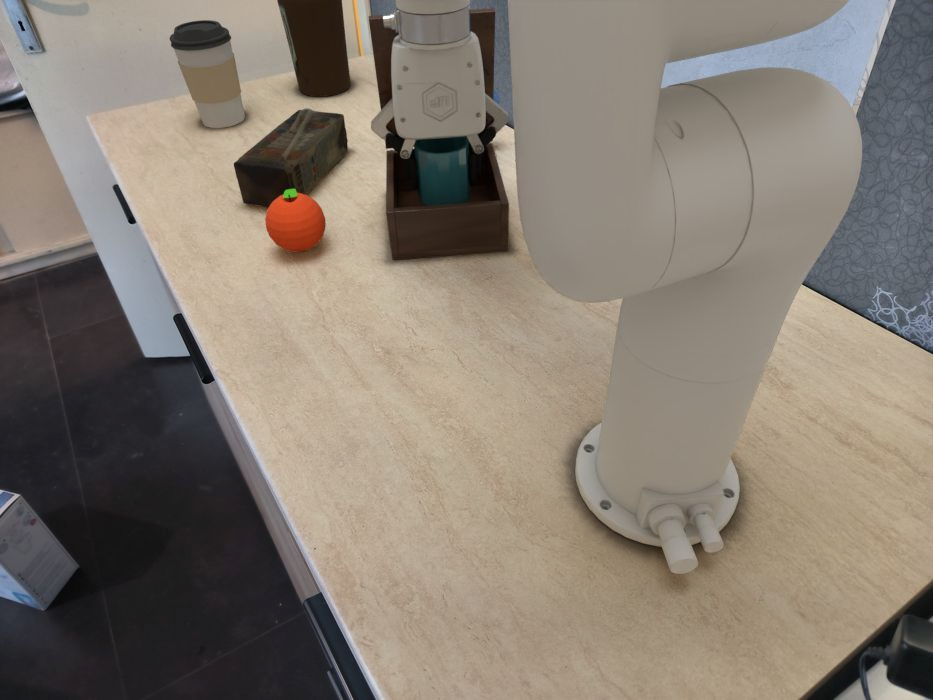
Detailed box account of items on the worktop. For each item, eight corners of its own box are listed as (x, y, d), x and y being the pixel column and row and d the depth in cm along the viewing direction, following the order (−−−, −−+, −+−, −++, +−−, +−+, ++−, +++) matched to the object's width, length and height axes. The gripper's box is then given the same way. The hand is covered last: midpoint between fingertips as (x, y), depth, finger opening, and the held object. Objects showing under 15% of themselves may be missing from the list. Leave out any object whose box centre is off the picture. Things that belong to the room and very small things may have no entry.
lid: (495, 11, 71) (489, -13, 74) (368, 19, 70) (368, -6, 74) (492, 141, 84) (487, 116, 88) (386, 149, 84) (385, 123, 87)
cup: (472, 207, 78) (471, 152, 74) (419, 211, 78) (414, 156, 73) (467, 181, 83) (466, 128, 78) (417, 185, 83) (413, 132, 78)
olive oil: (355, 75, 123) (333, -82, 106) (353, 96, 115) (328, -69, 99) (299, 78, 123) (267, -78, 106) (292, 100, 115) (257, -66, 98)
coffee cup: (201, 111, 113) (172, 17, 102) (254, 107, 113) (231, 13, 103) (191, 132, 106) (158, 34, 96) (247, 128, 106) (221, 30, 96)
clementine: (273, 232, 82) (259, 180, 78) (328, 224, 83) (318, 173, 78) (272, 267, 76) (257, 213, 72) (331, 258, 77) (320, 205, 73)
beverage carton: (352, 150, 99) (345, 107, 94) (295, 214, 85) (284, 168, 81) (304, 146, 101) (296, 103, 96) (241, 208, 87) (227, 162, 83)
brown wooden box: (508, 251, 77) (509, 203, 73) (392, 260, 77) (386, 212, 72) (492, 187, 89) (492, 142, 85) (391, 195, 88) (386, 150, 84)
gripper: (348, 40, 64) (371, 202, 76) (522, 30, 65) (518, 192, 77) (351, 18, 70) (372, 172, 82) (512, 8, 70) (509, 163, 82)
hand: (443, 181), depth 79 cm, fingers closed on cup, 6 cm apart
